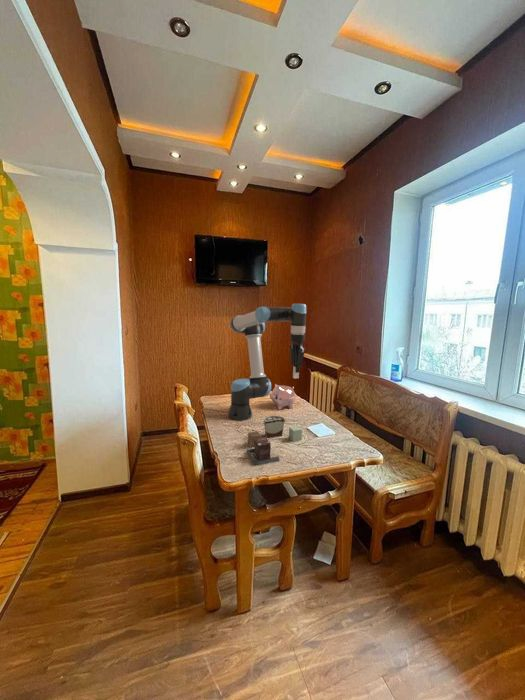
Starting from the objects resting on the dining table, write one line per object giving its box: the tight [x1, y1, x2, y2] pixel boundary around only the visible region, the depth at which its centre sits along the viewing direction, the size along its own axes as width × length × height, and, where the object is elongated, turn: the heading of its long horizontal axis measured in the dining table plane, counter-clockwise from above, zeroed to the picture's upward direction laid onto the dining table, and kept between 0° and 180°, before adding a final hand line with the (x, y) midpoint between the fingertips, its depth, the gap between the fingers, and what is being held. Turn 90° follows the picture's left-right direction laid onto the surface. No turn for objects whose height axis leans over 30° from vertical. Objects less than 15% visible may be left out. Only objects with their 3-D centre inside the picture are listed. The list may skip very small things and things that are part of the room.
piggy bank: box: [269, 383, 296, 410], centre depth 194 cm, size 15×18×16 cm
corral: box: [245, 447, 280, 466], centre depth 129 cm, size 11×12×2 cm
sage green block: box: [288, 425, 303, 442], centre depth 147 cm, size 5×5×6 cm
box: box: [253, 437, 272, 460], centre depth 129 cm, size 6×6×7 cm
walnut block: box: [247, 430, 262, 449], centre depth 140 cm, size 5×5×6 cm
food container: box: [262, 415, 286, 440], centre depth 151 cm, size 12×6×10 cm, turn 111°
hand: (295, 377), depth 147 cm, fingers closed
